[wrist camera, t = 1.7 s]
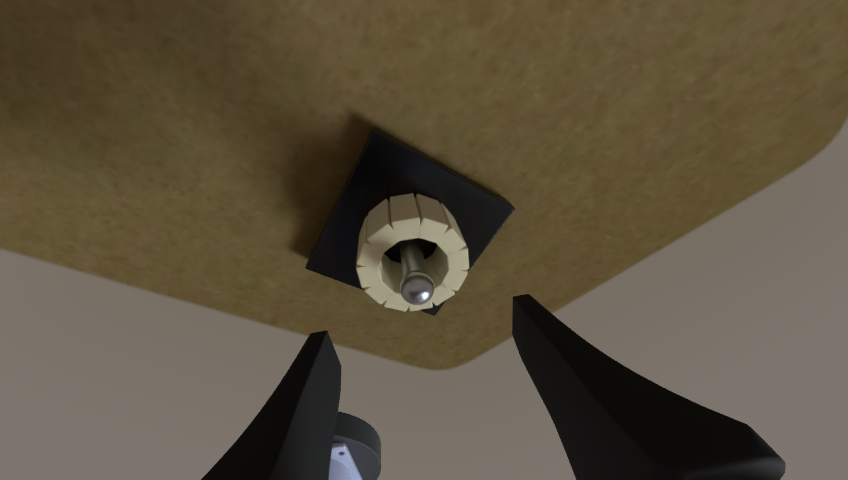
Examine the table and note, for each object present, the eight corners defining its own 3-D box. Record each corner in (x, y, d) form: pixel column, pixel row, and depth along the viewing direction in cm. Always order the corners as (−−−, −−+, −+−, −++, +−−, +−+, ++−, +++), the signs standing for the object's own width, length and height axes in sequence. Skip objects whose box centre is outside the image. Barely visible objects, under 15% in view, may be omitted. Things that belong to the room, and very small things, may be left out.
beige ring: (460, 269, 20) (471, 301, 18) (371, 285, 20) (370, 319, 18) (452, 186, 18) (465, 209, 15) (349, 203, 17) (344, 229, 15)
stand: (509, 201, 20) (559, 259, 14) (432, 306, 23) (448, 385, 18) (373, 125, 17) (371, 162, 11) (308, 259, 20) (281, 337, 15)
